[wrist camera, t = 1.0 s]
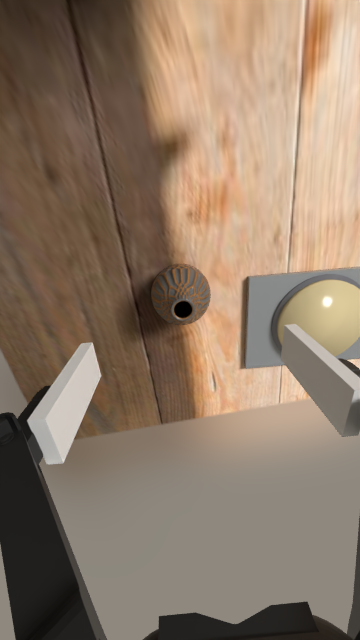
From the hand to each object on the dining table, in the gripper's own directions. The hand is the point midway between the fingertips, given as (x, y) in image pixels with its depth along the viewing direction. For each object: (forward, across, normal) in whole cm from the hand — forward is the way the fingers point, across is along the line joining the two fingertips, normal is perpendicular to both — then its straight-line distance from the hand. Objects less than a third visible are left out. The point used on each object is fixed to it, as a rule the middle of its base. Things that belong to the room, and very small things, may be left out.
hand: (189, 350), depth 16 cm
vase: (+16, 0, 0) cm, 16 cm away
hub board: (+16, +19, -6) cm, 26 cm away
